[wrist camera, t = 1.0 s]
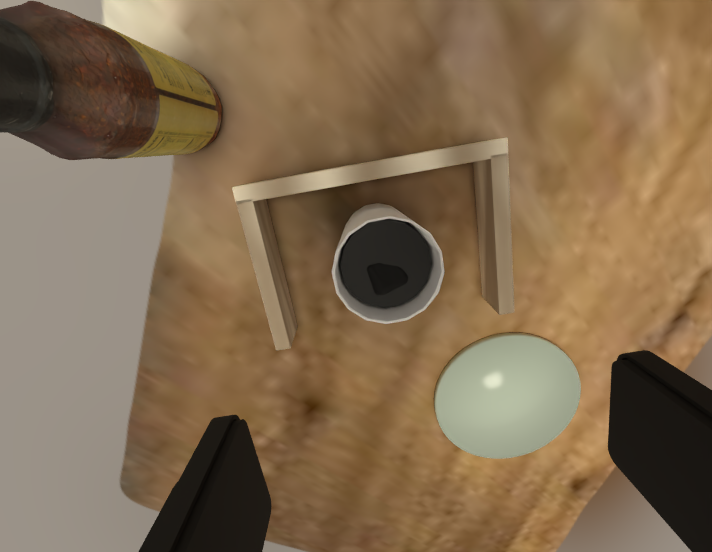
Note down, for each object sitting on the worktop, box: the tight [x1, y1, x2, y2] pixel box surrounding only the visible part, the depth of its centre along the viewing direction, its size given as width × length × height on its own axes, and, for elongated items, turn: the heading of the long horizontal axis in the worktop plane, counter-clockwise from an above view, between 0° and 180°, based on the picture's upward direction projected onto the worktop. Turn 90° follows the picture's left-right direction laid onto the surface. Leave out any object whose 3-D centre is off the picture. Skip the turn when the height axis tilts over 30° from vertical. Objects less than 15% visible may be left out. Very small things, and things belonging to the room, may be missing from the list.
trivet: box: [434, 332, 581, 459], centre depth 36 cm, size 14×14×1 cm
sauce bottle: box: [0, 1, 222, 160], centre depth 18 cm, size 6×6×20 cm
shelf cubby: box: [232, 137, 515, 351], centre depth 29 cm, size 19×13×4 cm
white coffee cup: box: [332, 203, 444, 324], centre depth 26 cm, size 7×7×10 cm
